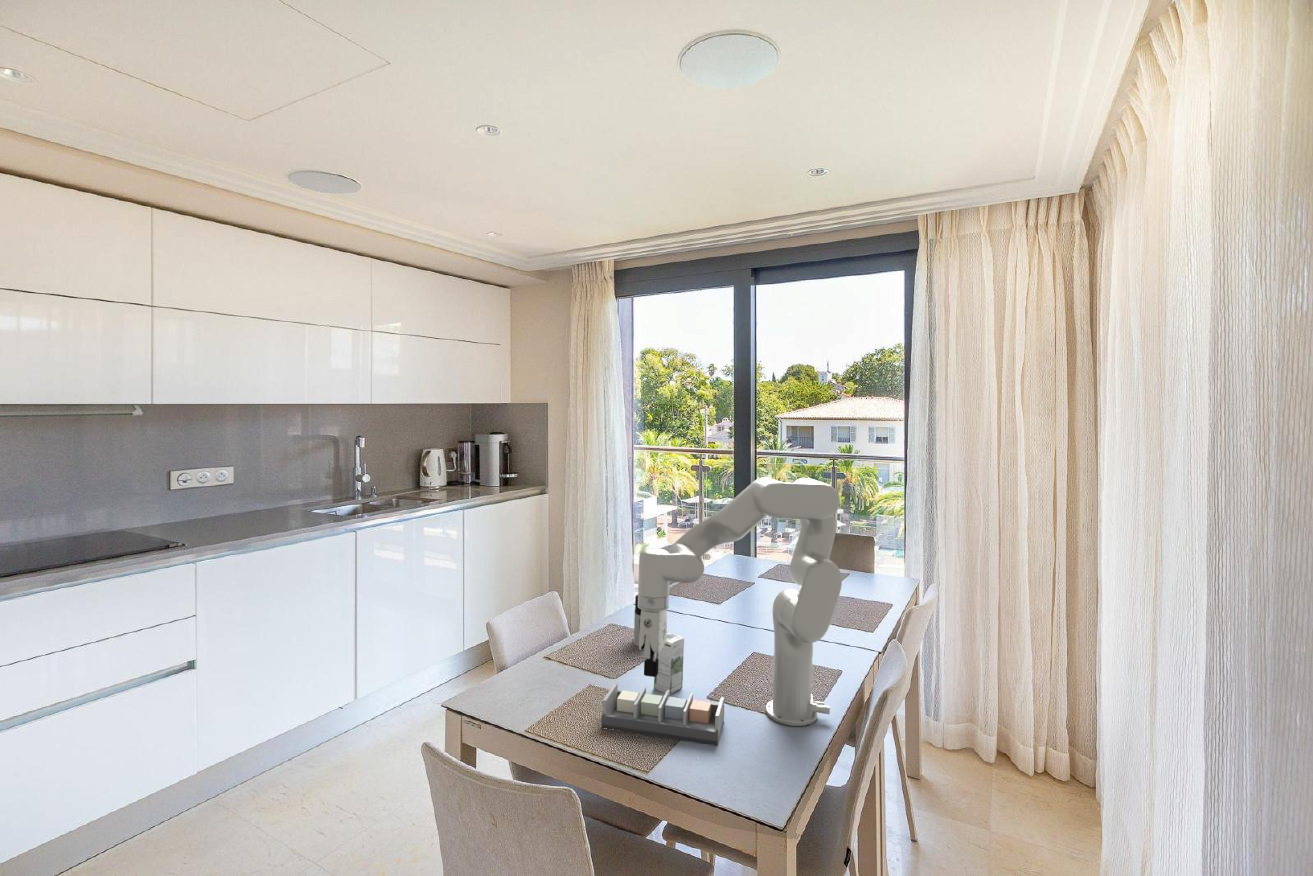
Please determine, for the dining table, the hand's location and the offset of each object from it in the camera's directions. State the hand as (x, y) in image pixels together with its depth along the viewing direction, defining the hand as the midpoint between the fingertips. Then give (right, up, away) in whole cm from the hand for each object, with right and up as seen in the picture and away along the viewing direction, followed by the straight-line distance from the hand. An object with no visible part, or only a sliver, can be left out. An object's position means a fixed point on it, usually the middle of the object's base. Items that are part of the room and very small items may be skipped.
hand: (650, 674), depth 151 cm
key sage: (0, -9, +1) cm, 9 cm away
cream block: (-6, -9, +2) cm, 11 cm away
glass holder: (-2, -10, +50) cm, 51 cm away
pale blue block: (+6, -9, -1) cm, 11 cm away
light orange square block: (+12, -9, -2) cm, 15 cm away
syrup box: (+5, -11, +19) cm, 23 cm away
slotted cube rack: (+3, -12, 0) cm, 13 cm away
